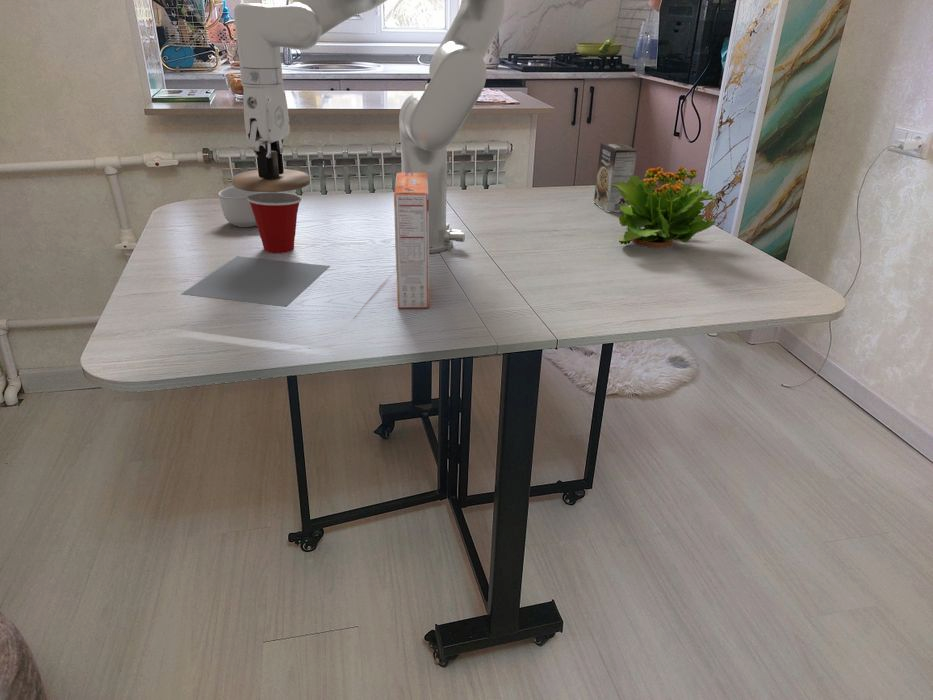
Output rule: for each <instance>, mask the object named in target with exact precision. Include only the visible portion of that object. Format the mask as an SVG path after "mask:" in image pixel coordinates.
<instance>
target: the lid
mask: <svg viewBox="0 0 933 700" xmlns="http://www.w3.org/2000/svg"><path fill="white" fill-rule="evenodd" d="M271 158H273V162H274V172H275V178H273V179H269V178H260V177H259V174H258V169H253V170H247V171H243V172H240V173H237V174H234V176H232V177H231V181H232V182H231V183H232V187H233V186H234V187H236V188H238V189H241V190H245V191H251V192H283V193H284V192H289V191H295V190H300V189H303V188H305V187H307V186H309V184H310V182H311V181H310V178H311V177H310V175H309V174H308V173H306V172H304V171H300V170H296V169H288V168H283V170H284V173H283V174H279V167H278V157H277V151H272V150H271Z"/></svg>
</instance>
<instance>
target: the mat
mask: <svg viewBox="0 0 933 700" xmlns="http://www.w3.org/2000/svg"><path fill="white" fill-rule="evenodd" d="M330 267H331V266H330V265H324V264H316V263H315V264H314V263H307V262H305V263H304V262H298V261H285V260H277V259H269V258H268V259H267V258H259V257H247V256H239V255H237V256H235V257H233V258H232V259H231V260H229V261H228V262H227V263H225V264H223V265H222V266H220V267H219V268H217V269H216V270H214V271H213V272H211V273H210V274H208V275H207V276H206V277H204V278H202V279H201V280H199V281H198V282H196V283H194V285H192V286H191V287H189V288H188V289H186V290H184V291H183V292H182V293H181V295H185V296H186V295H187V296H195V297H202V298H204V297H205V298H210V299H219V300H226V301H227V300H228V301H234V302H235V301H237V302H242V303H243V302H244V303H252V304H261V305H269V306H270V305H271V306H278V307H288V306H289V305H291V303H292V302H293V301H294V300H295V299H297V297H298V296H300V295H301V294H302V293H303V292H304V291H305V290H306V289H307V288H308V287H310V286H311V284H313V283H314V282H315V281H316V280H317V279H318V278H319V277H320V276H321V275H322V274H324V272H326V271H327V270H328V269H329V268H330Z"/></svg>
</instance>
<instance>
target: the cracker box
mask: <svg viewBox="0 0 933 700" xmlns="http://www.w3.org/2000/svg"><path fill="white" fill-rule="evenodd" d="M393 196H394V197H393V199H394V200H393V202H394V203H393V204H394V205H393V206H394V207H393V210H394V211H393V212H394V213H393V214H394V239H395V242H394V243H395V244H394V245H395V246H394V247H395V266H396V267H395V269H396V275H395V276H396V290H397V291H396V293H397V296H396V297H397V308H398V309H429V308H430V253H429V193H428V178H427V173H409V172H402V171H401V172H396V179H395V184H394V193H393Z"/></svg>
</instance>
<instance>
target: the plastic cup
mask: <svg viewBox="0 0 933 700" xmlns="http://www.w3.org/2000/svg"><path fill="white" fill-rule="evenodd" d="M302 198H303V197H302V196H300V195H298V194H296V193H289V192H284V191H283V192H264V193H256V194H251V195H248V197H247V200H248V201H249V202H250V205H251V208H252V211H253V213H254V217H255V220H256V224H257V225H256V227H257V231H258V234H259V238H260V239H261V243H262V247H263V250H264V251H265V252H267V253H269V254H284V253H289V252H291V251H293V250H294V249H295V238H296V231H297V230H296V229H297V219H298V218H297V217H298V212H299V206H300V202H301V201H302Z"/></svg>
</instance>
